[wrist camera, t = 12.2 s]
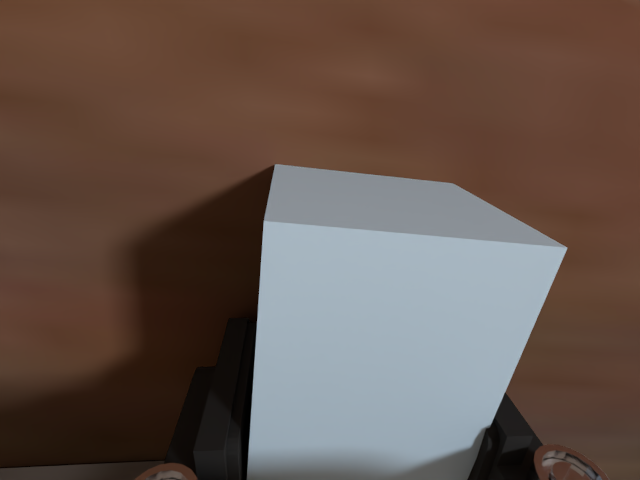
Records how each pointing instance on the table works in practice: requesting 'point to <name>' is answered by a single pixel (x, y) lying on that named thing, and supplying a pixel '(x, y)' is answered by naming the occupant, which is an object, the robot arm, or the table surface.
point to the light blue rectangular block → (386, 325)
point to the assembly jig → (80, 471)
